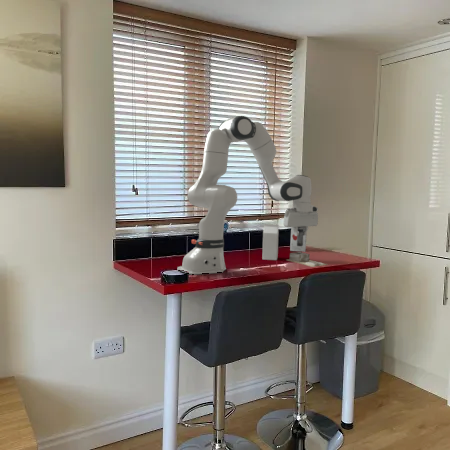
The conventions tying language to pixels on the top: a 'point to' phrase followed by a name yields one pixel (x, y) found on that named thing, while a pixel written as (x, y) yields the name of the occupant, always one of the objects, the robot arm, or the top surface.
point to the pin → (300, 236)
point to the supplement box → (294, 242)
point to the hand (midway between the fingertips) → (300, 235)
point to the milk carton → (270, 242)
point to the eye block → (303, 259)
